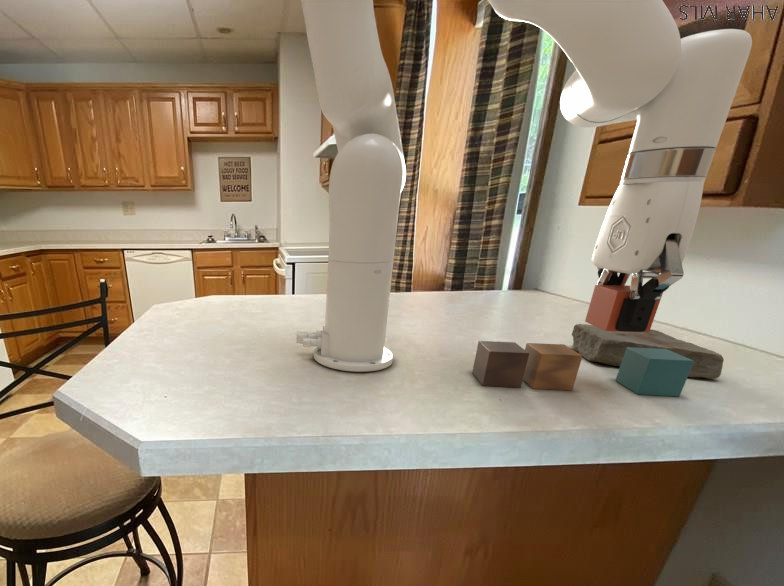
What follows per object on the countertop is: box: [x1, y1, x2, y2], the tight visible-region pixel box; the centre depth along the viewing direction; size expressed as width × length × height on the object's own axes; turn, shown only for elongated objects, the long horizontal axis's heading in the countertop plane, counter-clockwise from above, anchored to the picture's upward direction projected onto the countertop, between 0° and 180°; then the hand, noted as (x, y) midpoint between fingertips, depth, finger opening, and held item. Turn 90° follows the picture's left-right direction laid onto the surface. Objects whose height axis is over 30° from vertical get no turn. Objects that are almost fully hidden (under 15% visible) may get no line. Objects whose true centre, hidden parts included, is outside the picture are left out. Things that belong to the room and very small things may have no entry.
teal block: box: [615, 347, 694, 397], centre depth 57 cm, size 5×5×5 cm
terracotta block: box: [584, 284, 664, 332], centre depth 54 cm, size 5×5×5 cm
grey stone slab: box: [571, 323, 724, 380], centre depth 68 cm, size 17×15×4 cm
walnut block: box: [471, 340, 529, 389], centre depth 59 cm, size 5×5×5 cm
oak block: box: [523, 342, 583, 391], centre depth 59 cm, size 5×5×5 cm
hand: (616, 323), depth 55 cm, fingers closed on terracotta block, 5 cm apart
